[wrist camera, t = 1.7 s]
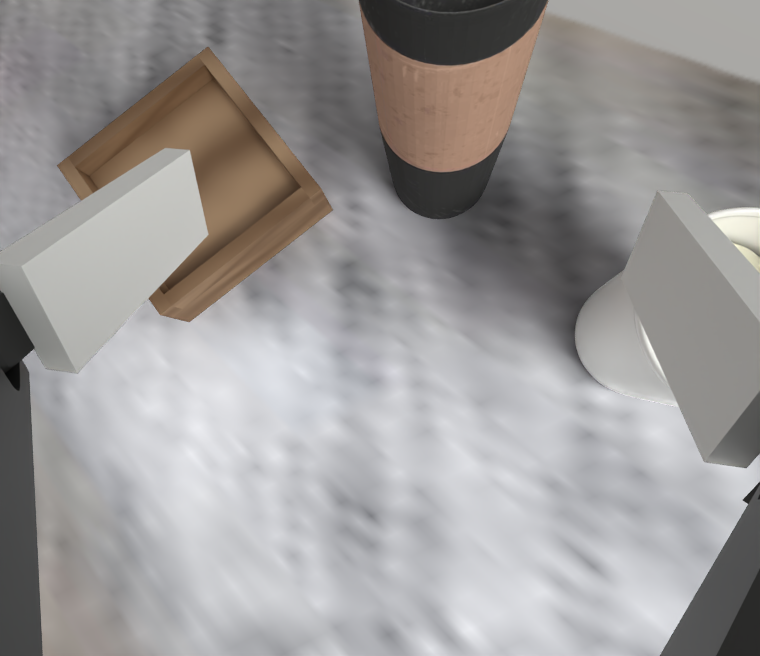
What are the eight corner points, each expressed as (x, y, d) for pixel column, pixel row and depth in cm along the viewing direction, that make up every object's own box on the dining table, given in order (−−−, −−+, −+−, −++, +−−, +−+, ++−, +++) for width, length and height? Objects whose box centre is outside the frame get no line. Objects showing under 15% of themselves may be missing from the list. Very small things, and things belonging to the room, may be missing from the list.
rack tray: (332, 210, 36) (321, 188, 32) (189, 322, 36) (160, 314, 32) (230, 81, 38) (208, 46, 34) (95, 187, 38) (57, 165, 34)
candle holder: (701, 264, 33) (857, 198, 21) (717, 406, 32) (892, 421, 20) (557, 272, 34) (628, 213, 22) (567, 410, 33) (649, 426, 21)
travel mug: (379, 140, 36) (324, -150, 16) (477, 115, 36) (542, -217, 16) (401, 234, 35) (370, 45, 15) (502, 209, 35) (604, -19, 15)
